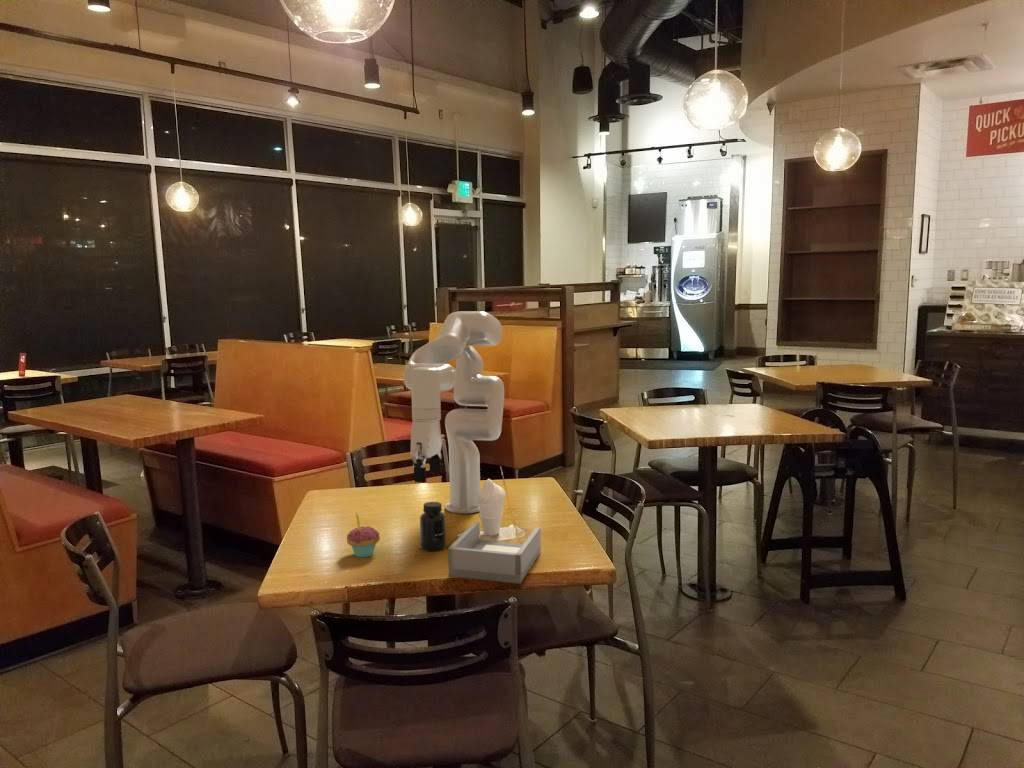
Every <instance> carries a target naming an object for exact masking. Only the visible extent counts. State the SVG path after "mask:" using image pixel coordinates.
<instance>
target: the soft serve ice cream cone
mask: <svg viewBox="0 0 1024 768" xmlns="http://www.w3.org/2000/svg"><path fill="white" fill-rule="evenodd" d="M476 495H477V497H476V499H477V500H478V505H479V517H480V522H481V526H482V530H483V534H484V535H485V536H489V537H491V536H492V537H494V536H497V534H498V535H499V534H500V530H501V523H502V519H503V518H502V517H503V516H504V514H503V510H504V503H505V500H506V491H505V490H504V488H503V487H501V486H500V485H498V484H496V483H494V482H493V481H492V479H490V478H488V479H486V480H485V481H484V483H483V485H482V486H481V487H480V489H479V490H478V492H477V493H476Z"/></svg>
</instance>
